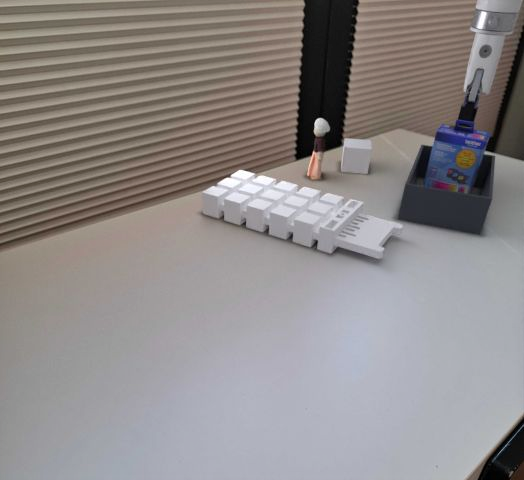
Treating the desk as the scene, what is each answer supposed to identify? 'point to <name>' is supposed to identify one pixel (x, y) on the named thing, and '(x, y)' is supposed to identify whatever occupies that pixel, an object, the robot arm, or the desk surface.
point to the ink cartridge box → (456, 157)
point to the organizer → (298, 214)
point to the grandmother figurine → (318, 148)
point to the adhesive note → (356, 156)
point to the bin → (447, 198)
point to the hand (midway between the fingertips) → (463, 127)
